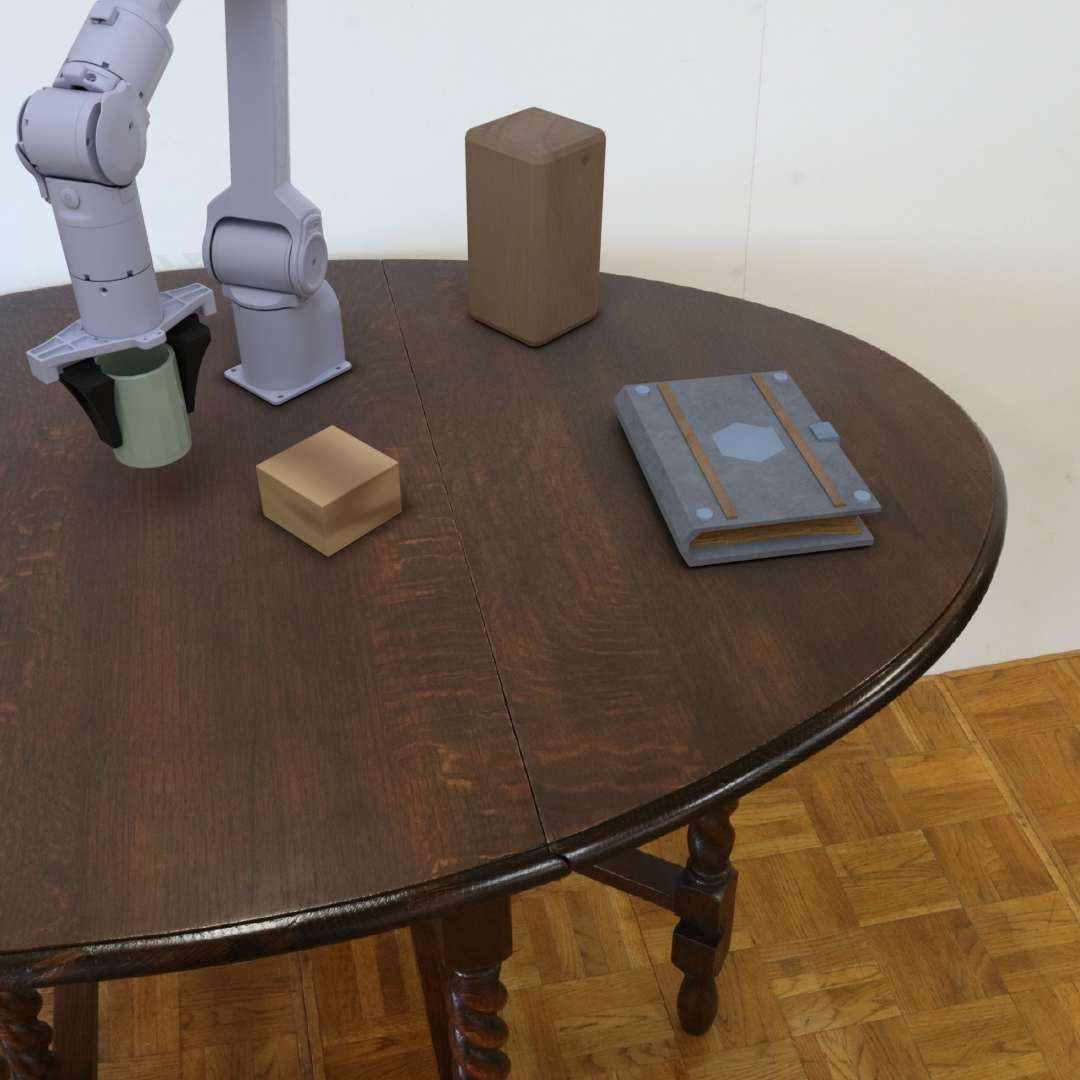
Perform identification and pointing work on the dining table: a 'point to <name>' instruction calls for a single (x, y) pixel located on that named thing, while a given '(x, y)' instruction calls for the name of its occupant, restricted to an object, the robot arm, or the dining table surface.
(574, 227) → the wooden block
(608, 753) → the dining table surface
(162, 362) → the cup
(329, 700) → the dining table surface
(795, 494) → the book
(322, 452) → the block
